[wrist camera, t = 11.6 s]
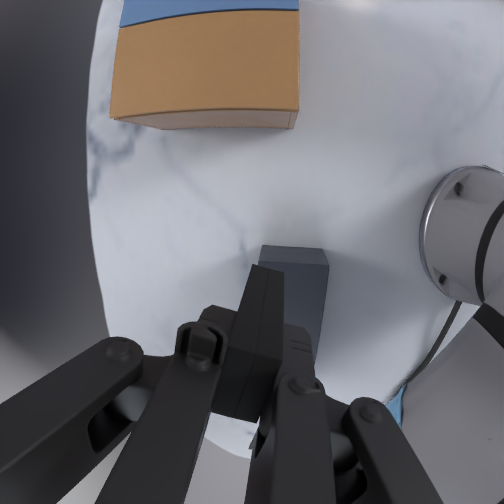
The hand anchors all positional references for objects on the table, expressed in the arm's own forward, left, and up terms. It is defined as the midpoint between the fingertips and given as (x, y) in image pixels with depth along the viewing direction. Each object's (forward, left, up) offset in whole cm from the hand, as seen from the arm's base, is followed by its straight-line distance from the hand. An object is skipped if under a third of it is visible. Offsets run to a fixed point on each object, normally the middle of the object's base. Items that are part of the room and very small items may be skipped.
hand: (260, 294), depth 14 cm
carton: (+17, +5, -16) cm, 24 cm away
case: (-9, -2, -16) cm, 19 cm away
